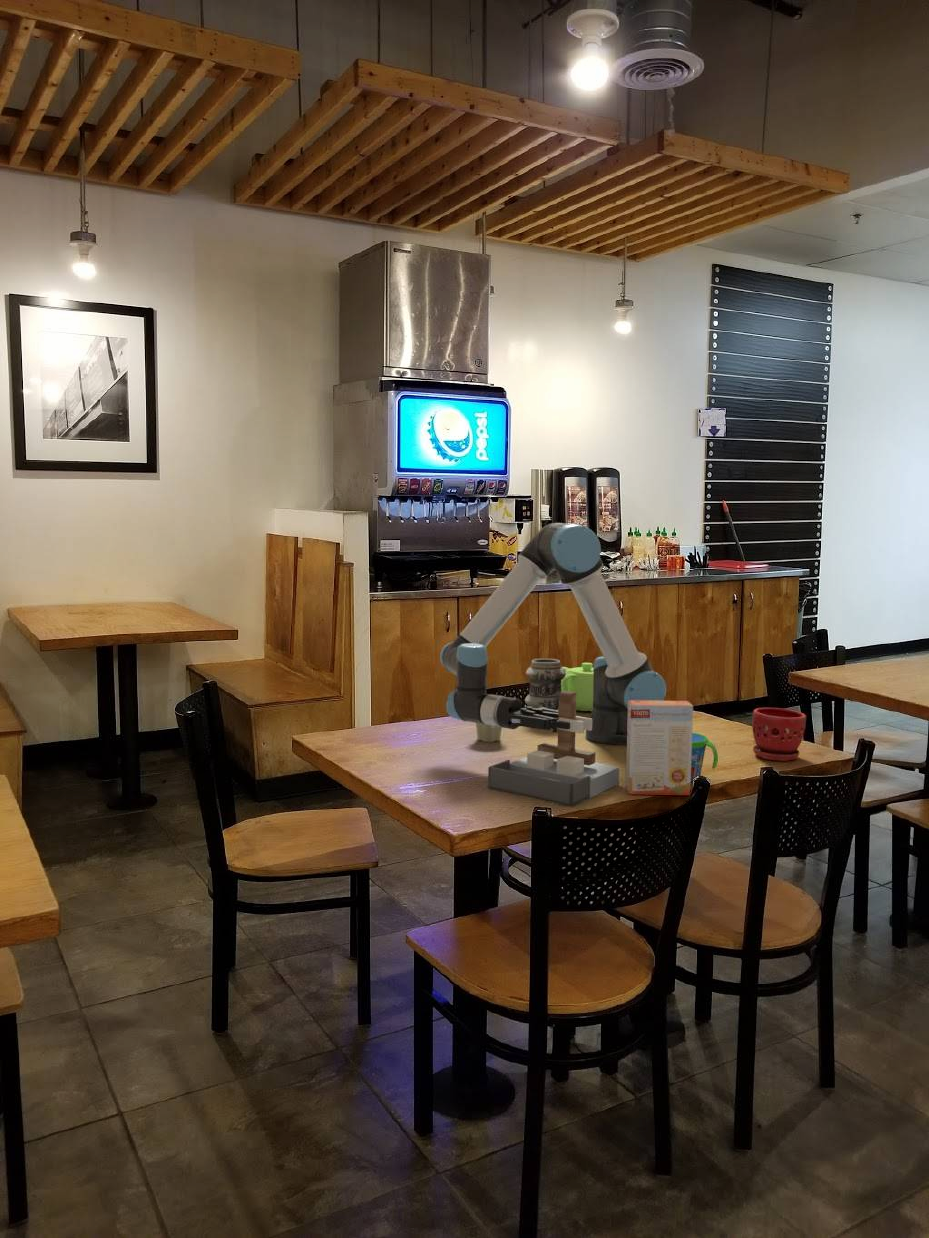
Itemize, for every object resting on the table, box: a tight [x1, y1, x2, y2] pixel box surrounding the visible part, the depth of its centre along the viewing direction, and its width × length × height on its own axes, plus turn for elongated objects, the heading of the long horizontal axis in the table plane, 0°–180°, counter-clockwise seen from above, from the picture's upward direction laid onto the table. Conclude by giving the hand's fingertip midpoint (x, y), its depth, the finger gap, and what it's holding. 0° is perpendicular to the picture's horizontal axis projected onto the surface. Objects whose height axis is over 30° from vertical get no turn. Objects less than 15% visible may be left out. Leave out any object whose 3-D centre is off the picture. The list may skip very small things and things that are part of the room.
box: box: [487, 759, 590, 807], centre depth 226 cm, size 8×22×5 cm, turn 54°
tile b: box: [557, 756, 584, 776], centre depth 229 cm, size 4×4×3 cm
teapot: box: [561, 662, 594, 712], centre depth 318 cm, size 19×20×14 cm
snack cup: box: [691, 732, 719, 782], centre depth 239 cm, size 16×10×10 cm
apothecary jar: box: [524, 658, 566, 710], centre depth 300 cm, size 12×12×18 cm
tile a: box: [526, 750, 554, 770], centre depth 234 cm, size 4×4×3 cm
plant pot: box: [751, 707, 807, 762], centre depth 260 cm, size 13×13×12 cm
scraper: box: [536, 691, 597, 766], centre depth 235 cm, size 3×14×16 cm, turn 54°
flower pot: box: [475, 723, 503, 743], centre depth 275 cm, size 9×9×9 cm
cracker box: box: [625, 700, 694, 796], centre depth 227 cm, size 14×6×21 cm, turn 88°
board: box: [510, 756, 620, 799], centre depth 235 cm, size 14×22×4 cm, turn 54°
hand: (587, 726), depth 232 cm, fingers closed on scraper, 3 cm apart
